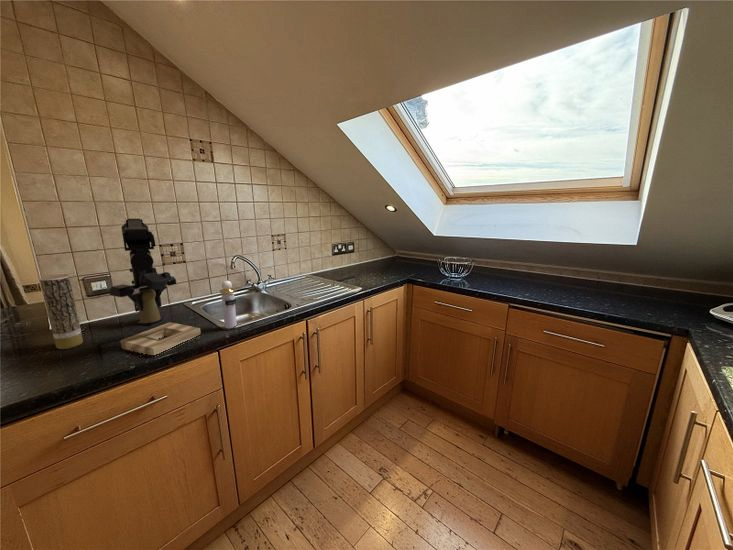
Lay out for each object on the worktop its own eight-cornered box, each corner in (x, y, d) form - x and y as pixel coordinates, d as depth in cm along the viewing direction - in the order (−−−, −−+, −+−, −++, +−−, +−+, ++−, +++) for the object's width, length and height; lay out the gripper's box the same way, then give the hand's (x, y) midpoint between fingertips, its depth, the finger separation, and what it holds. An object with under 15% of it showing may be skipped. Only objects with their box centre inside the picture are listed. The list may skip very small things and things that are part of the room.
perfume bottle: (220, 327, 121) (215, 280, 117) (234, 324, 125) (230, 278, 121) (227, 331, 117) (222, 283, 113) (241, 327, 122) (237, 280, 117)
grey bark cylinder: (88, 341, 108) (74, 274, 102) (71, 350, 101) (55, 279, 95) (69, 341, 107) (54, 274, 102) (50, 350, 101) (33, 278, 95)
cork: (164, 318, 107) (160, 288, 104) (148, 324, 101) (143, 293, 99) (152, 316, 108) (148, 287, 106) (135, 321, 103) (130, 291, 100)
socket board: (121, 348, 102) (120, 340, 102) (170, 329, 119) (169, 322, 118) (154, 356, 97) (152, 348, 97) (200, 335, 114) (200, 328, 113)
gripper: (127, 273, 89) (135, 321, 93) (184, 263, 106) (189, 304, 110) (104, 269, 93) (113, 316, 97) (163, 260, 110) (168, 300, 114)
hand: (148, 309), depth 104 cm, fingers closed on cork, 4 cm apart
